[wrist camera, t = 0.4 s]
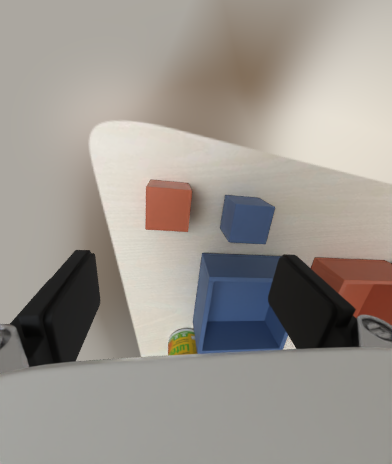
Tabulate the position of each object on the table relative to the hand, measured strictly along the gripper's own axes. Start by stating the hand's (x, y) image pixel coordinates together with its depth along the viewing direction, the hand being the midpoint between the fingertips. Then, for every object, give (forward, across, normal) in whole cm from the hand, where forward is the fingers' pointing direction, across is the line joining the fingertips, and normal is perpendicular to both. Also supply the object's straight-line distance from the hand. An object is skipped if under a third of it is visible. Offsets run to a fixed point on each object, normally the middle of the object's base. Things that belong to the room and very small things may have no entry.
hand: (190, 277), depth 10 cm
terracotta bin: (+15, -26, +14) cm, 33 cm away
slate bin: (+15, -10, +13) cm, 22 cm away
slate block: (+16, -8, +1) cm, 17 cm away
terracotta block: (+16, +1, 0) cm, 16 cm away
